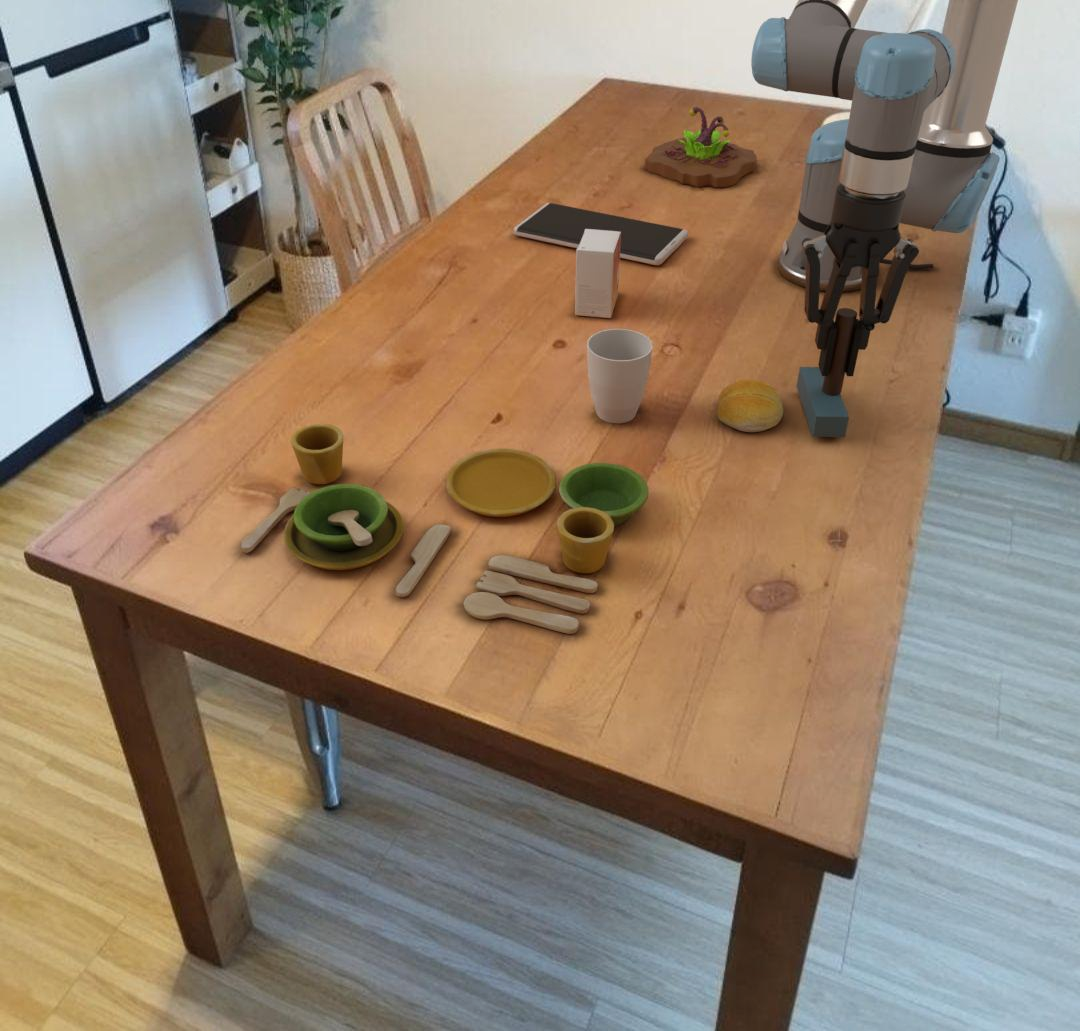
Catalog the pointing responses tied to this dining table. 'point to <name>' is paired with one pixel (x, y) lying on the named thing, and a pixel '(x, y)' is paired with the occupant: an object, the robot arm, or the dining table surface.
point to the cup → (618, 372)
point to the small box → (597, 273)
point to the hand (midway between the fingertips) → (835, 370)
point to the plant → (702, 157)
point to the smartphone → (571, 222)
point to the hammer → (828, 384)
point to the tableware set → (478, 485)
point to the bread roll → (750, 406)
